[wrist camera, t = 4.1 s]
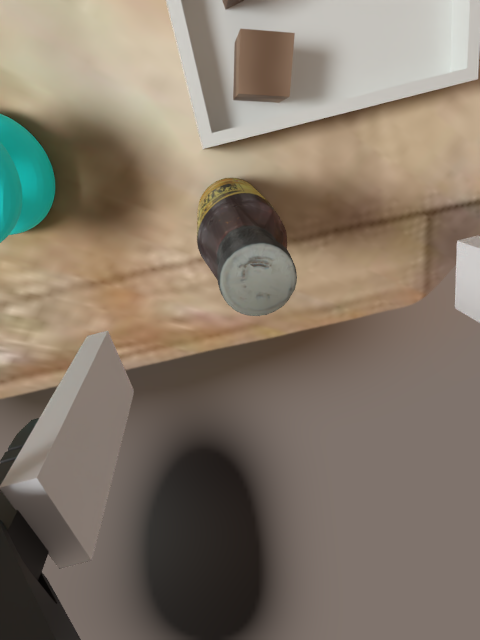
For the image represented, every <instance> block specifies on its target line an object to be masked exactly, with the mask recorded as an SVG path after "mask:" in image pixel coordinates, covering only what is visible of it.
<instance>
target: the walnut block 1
mask: <svg viewBox="0 0 480 640" xmlns="http://www.w3.org/2000/svg"><path fill="white" fill-rule="evenodd" d="M222 1H223V4H224V7H225V10H226V9H228V8H230V7H232V6H234V5H236V4H238V3H240V2H242V1H244V0H222Z"/></svg>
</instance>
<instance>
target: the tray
mask: <svg viewBox="0 0 480 640" xmlns="http://www.w3.org/2000/svg"><path fill="white" fill-rule="evenodd" d="M166 4H167V8H168V12H169V16H170V20H171V24H172V28H173V32H174V36H175V40H176V44H177V48H178V52H179V56H180V60H181V64H182V68H183V72H184V76H185V81H186V85H187V89H188V93H189V97H190V101H191V105H192V109H193V113H194V117H195V121H196V125H197V129H198V133H199V137H200V141H201V145H202V149H205V148H209V147H213V146H217V145H221V144H225V143H229V142H232V141H236V140H240V139H244V138H248V137H252V136H256V135H260V134H264V133H268V132H272V131H276V130H280V129H284V128H288V127H292V126H295V125H299V124H303V123H307V122H311V121H315V120H319V119H323V118H327V117H331V116H335V115H339V114H343V113H347V112H351V111H355V110H358V109H362V108H366V107H370V106H374V105H378V104H382V103H386V102H390V101H394V100H398V99H402V98H406V97H410V96H414V95H418V94H421V93H425V92H429V91H433V90H437V89H441V88H445V87H449V86H453V85H457V84H461V83H465V82H469V81H473V80H477V79H478V70H479V51H480V0H244V1H242V2H240V3H238V4H236V5H234V6H232V7H230V8H228V9H226V10H225V7H224V4H223V1H222V0H166ZM240 29H252V30H265V31H277V32H289V33H295V37H294V49H293V62H292V74H291V87H290V97H288V98H287V99H285V100H283V101H281V102H279V103H274V102H257V101H239V100H233V86H234V45H235V41H236V38H237V36H238V33H239V31H240Z"/></svg>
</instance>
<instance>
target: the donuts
mask: <svg viewBox="0 0 480 640" xmlns="http://www.w3.org/2000/svg"><path fill="white" fill-rule="evenodd" d="M54 196H55V177H54V172H53V168H52V165H51V163H50V160H49V158H48V156H47V154H46V152H45V151H44V149H43V148H42V146H41V145H40V143H39V142H38V141H37V140H36V139H35V137H34V136H33V135H32V134H31V133H30V132H28V131H27V130H26V129H25V128H24V127H23V126H21V125H20V124H19V123H17V122H16V121H14V120H12V119H11V118H9V117H7V116H5V115H2V114H0V243H1V242H2V241H3V240H4V239H5V238H6V237H7V236H8V235H13V234H18V233H22V232H25V231H27V230H29V229H31V228H33V227H35V226H36V225H38V224H39V223H40V222H41V221H42V220H43V219H44V218H45V217H46V215H47V214H48V212H49V211H50V209H51V206H52V204H53V200H54Z"/></svg>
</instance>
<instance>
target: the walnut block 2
mask: <svg viewBox="0 0 480 640" xmlns="http://www.w3.org/2000/svg"><path fill="white" fill-rule="evenodd" d="M294 37H295V33H289V32H277V31H265V30H252V29H240V31H239V33H238V36H237V38H236V41H235V45H234V86H233V100H239V101H257V102H274V103H279V102H281V101H283V100H285V99H287V98H288V97H290V87H291V74H292V62H293V49H294Z"/></svg>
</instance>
